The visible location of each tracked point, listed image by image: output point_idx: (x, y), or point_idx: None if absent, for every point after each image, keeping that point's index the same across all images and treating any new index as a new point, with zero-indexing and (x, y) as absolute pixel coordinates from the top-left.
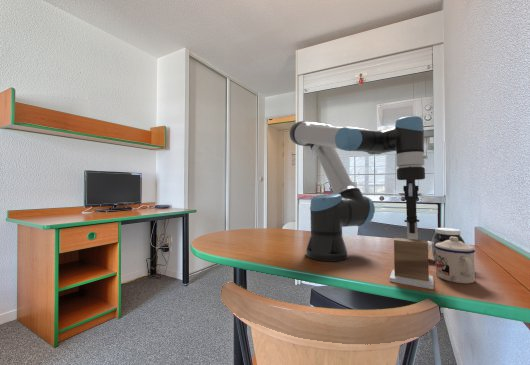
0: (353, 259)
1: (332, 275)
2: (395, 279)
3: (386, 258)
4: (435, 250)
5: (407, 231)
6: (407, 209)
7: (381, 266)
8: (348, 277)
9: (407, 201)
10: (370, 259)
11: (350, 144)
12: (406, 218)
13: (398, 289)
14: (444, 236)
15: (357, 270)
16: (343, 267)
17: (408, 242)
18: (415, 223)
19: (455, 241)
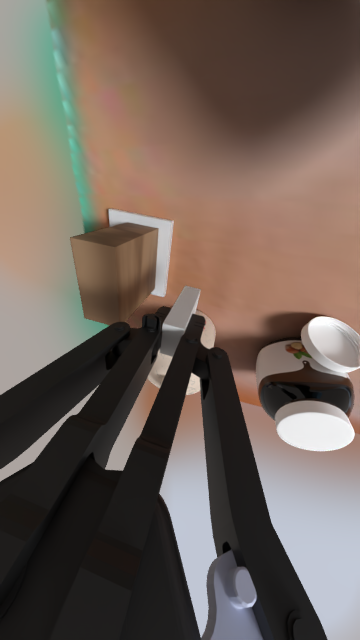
0: (300, 47)
1: (64, 2)
2: (110, 221)
3: (331, 213)
4: (299, 356)
5: (174, 304)
6: (69, 355)
7: (223, 191)
8: (81, 81)
9: (18, 391)
10: (309, 144)
11: None
12: (115, 325)
13: (83, 222)
14: (281, 400)
15: (154, 103)
16: (165, 24)
17: (79, 277)
18: (160, 346)
19: (160, 380)
